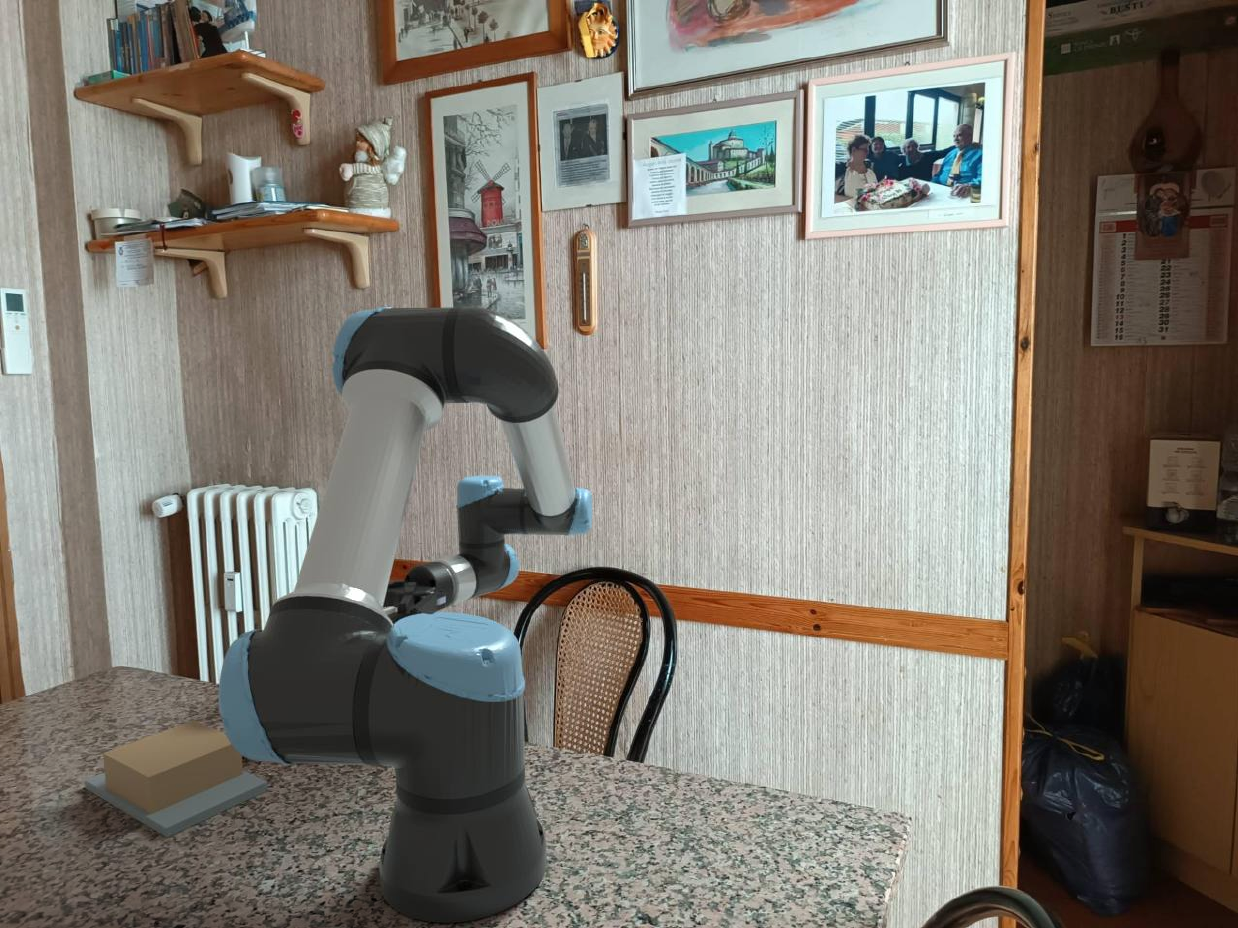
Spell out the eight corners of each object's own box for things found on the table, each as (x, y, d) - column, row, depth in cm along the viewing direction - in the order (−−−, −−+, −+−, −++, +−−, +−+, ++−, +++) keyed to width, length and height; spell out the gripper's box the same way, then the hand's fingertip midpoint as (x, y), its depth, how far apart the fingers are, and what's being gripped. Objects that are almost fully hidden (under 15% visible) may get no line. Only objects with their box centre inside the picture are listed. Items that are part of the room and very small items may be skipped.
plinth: (268, 790, 89) (265, 747, 88) (166, 837, 80) (163, 790, 79) (183, 750, 99) (180, 711, 98) (85, 788, 90) (81, 745, 89)
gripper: (499, 620, 118) (384, 666, 100) (386, 596, 132) (268, 632, 114) (497, 571, 117) (381, 608, 99) (384, 551, 131) (264, 581, 113)
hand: (320, 621), depth 107 cm, fingers open, 13 cm apart
